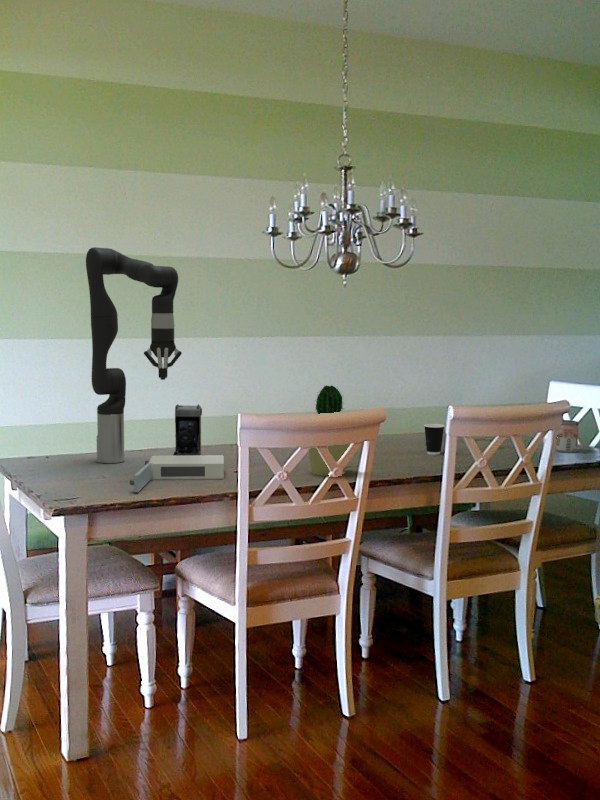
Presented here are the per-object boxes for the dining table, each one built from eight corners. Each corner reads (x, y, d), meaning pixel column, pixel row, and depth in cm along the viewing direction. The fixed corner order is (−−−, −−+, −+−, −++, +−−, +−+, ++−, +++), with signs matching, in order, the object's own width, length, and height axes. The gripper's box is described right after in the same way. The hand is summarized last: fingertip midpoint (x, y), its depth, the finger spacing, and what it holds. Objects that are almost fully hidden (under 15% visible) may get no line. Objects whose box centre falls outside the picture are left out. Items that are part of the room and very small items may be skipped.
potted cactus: (306, 477, 284) (306, 385, 281) (304, 468, 299) (305, 381, 296) (353, 477, 284) (354, 385, 281) (349, 468, 299) (350, 381, 296)
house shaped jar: (554, 448, 346) (555, 419, 345) (576, 449, 344) (577, 419, 343) (556, 452, 337) (557, 421, 336) (578, 453, 335) (580, 422, 334)
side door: (142, 478, 277) (142, 462, 277) (153, 478, 277) (153, 463, 277) (128, 492, 256) (128, 475, 256) (140, 492, 256) (140, 475, 256)
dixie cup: (419, 453, 332) (419, 425, 331) (431, 451, 338) (432, 423, 336) (435, 456, 326) (436, 427, 325) (448, 453, 332) (449, 425, 331)
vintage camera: (170, 466, 304) (171, 409, 302) (175, 456, 320) (175, 403, 317) (198, 466, 305) (199, 410, 302) (201, 457, 320) (202, 404, 317)
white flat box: (143, 479, 277) (143, 464, 277) (147, 470, 293) (147, 455, 293) (223, 478, 279) (223, 463, 279) (223, 469, 295) (223, 455, 295)
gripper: (141, 327, 282) (141, 380, 284) (182, 327, 283) (182, 380, 285) (143, 326, 290) (144, 378, 292) (183, 327, 291) (183, 378, 293)
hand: (163, 379), depth 288 cm, fingers closed
